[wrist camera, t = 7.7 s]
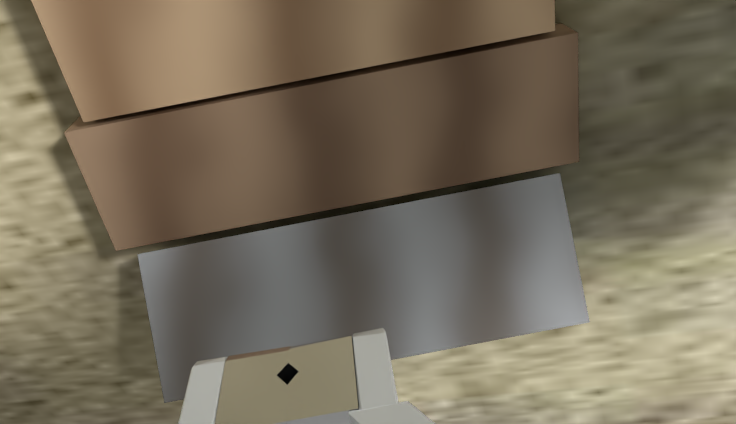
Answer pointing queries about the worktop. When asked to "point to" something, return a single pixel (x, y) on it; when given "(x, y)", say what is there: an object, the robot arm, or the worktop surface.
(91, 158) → the walnut strip
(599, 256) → the worktop surface
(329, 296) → the grey plank
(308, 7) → the smoked oak plank
